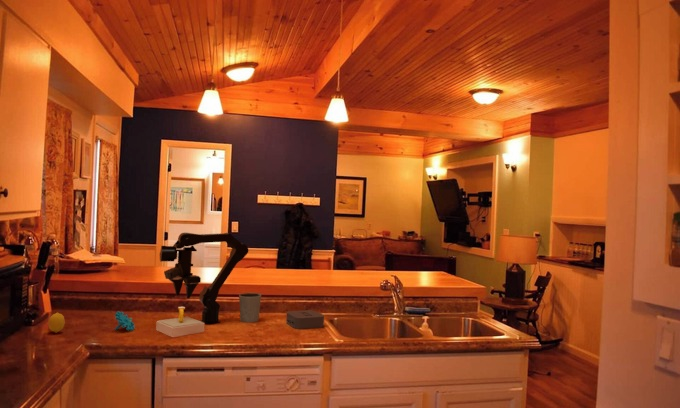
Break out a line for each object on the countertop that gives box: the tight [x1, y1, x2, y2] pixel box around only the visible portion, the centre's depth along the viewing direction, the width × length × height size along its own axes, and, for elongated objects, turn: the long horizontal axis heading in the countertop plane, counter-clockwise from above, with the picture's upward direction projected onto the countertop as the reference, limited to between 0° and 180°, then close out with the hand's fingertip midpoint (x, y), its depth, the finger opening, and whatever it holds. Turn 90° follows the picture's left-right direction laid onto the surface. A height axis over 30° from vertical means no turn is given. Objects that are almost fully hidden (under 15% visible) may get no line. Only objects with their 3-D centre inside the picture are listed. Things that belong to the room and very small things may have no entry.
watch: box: [177, 306, 186, 322], centre depth 199 cm, size 6×3×6 cm, turn 22°
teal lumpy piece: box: [114, 310, 136, 332], centre depth 197 cm, size 11×6×10 cm
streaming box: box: [286, 309, 325, 330], centre depth 220 cm, size 14×14×5 cm
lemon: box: [47, 312, 66, 334], centre depth 188 cm, size 6×6×8 cm
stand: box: [155, 316, 206, 338], centre depth 199 cm, size 14×14×4 cm
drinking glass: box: [238, 292, 262, 324], centre depth 223 cm, size 10×10×12 cm
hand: (182, 296), depth 210 cm, fingers open, 9 cm apart
